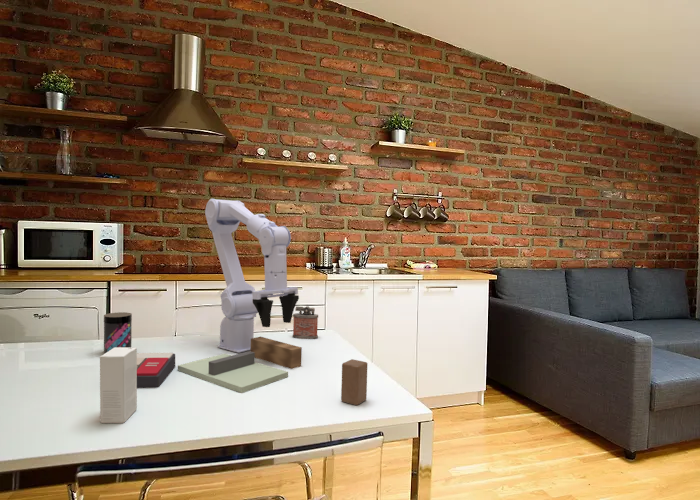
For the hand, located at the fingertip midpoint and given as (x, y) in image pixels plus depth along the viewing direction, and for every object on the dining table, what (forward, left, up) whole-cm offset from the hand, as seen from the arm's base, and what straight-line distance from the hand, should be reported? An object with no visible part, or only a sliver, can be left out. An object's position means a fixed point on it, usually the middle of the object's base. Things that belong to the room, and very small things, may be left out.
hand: (276, 324), depth 119 cm
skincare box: (+4, -43, -10) cm, 44 cm away
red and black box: (-14, -29, -10) cm, 34 cm away
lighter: (-11, +24, -10) cm, 28 cm away
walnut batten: (0, 0, -10) cm, 10 cm away
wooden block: (+32, -9, -10) cm, 34 cm away
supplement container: (-36, -23, -10) cm, 44 cm away
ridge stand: (0, -14, -10) cm, 17 cm away
